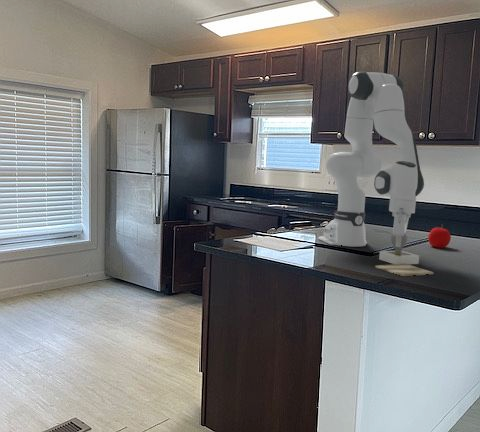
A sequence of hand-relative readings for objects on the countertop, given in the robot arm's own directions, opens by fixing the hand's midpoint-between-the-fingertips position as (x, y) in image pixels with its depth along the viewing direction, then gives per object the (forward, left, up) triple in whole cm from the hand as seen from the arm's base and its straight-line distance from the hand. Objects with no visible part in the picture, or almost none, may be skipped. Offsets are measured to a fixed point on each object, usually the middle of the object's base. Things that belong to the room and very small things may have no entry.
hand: (398, 245), depth 173 cm
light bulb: (0, 0, -5) cm, 5 cm away
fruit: (-20, +40, -6) cm, 45 cm away
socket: (0, 0, -6) cm, 6 cm away
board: (+12, -8, -6) cm, 16 cm away
